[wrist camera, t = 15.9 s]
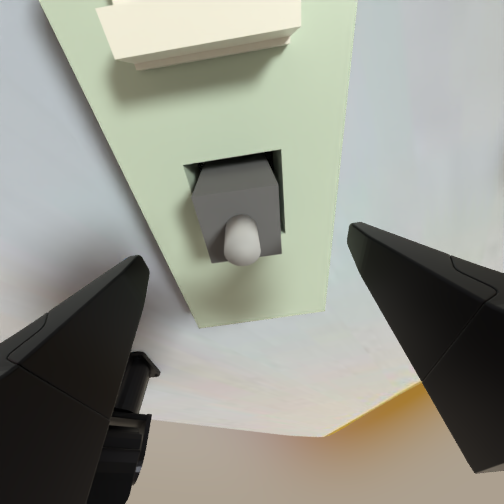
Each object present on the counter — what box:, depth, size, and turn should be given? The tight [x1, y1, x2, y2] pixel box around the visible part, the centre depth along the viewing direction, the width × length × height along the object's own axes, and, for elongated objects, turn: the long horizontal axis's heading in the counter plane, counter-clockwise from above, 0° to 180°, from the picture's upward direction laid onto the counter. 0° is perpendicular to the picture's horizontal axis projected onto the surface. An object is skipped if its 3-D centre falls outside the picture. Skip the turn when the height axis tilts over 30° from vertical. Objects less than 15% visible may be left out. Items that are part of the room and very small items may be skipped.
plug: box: [191, 152, 282, 266], centre depth 13 cm, size 4×4×9 cm
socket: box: [39, 0, 357, 328], centre depth 15 cm, size 24×12×4 cm, turn 8°
